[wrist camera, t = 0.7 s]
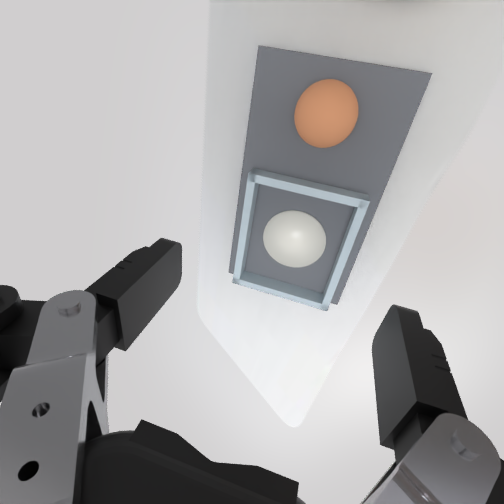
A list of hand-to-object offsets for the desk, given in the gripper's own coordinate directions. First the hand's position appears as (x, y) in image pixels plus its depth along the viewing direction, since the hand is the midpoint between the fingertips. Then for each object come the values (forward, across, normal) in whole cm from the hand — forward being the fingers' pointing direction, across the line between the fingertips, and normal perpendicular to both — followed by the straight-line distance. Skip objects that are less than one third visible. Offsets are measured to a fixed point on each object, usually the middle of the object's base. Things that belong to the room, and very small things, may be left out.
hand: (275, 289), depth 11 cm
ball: (+20, 0, -4) cm, 21 cm away
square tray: (+20, 0, +9) cm, 22 cm away
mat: (+21, 0, +4) cm, 21 cm away
